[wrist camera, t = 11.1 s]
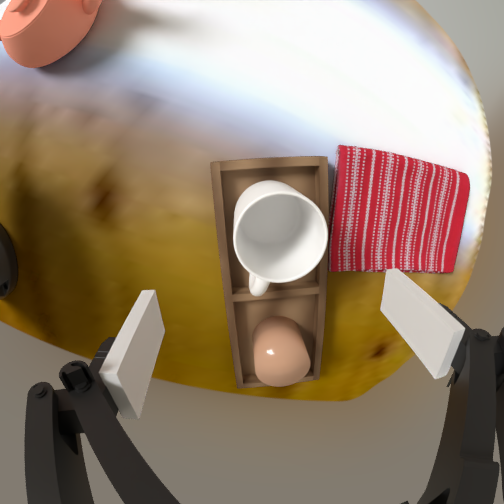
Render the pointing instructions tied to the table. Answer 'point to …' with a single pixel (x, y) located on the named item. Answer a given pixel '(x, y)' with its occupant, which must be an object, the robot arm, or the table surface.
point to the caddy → (277, 294)
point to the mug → (277, 234)
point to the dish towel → (394, 213)
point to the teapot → (45, 29)
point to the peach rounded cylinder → (279, 352)
